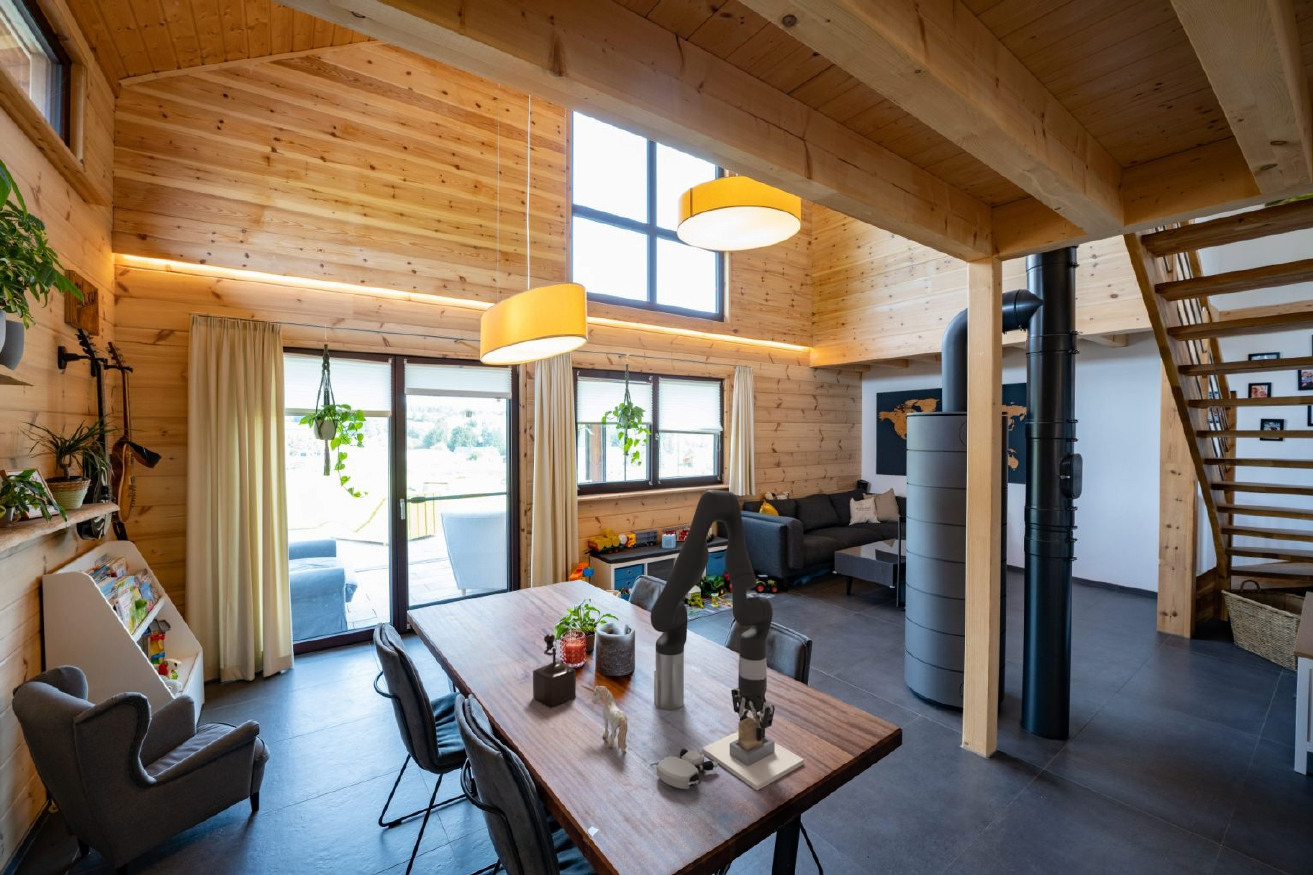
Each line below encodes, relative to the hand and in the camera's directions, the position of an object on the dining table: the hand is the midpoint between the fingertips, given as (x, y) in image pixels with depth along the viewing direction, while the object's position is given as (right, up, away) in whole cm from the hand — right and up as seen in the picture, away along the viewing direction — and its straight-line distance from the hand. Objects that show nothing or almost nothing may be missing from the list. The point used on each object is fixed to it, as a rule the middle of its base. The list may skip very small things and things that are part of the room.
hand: (752, 735), depth 145 cm
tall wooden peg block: (-1, -5, 0) cm, 5 cm away
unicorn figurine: (-41, -6, +7) cm, 42 cm away
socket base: (0, -6, 0) cm, 6 cm away
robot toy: (-18, -6, -8) cm, 21 cm away
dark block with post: (-61, -6, +35) cm, 71 cm away
